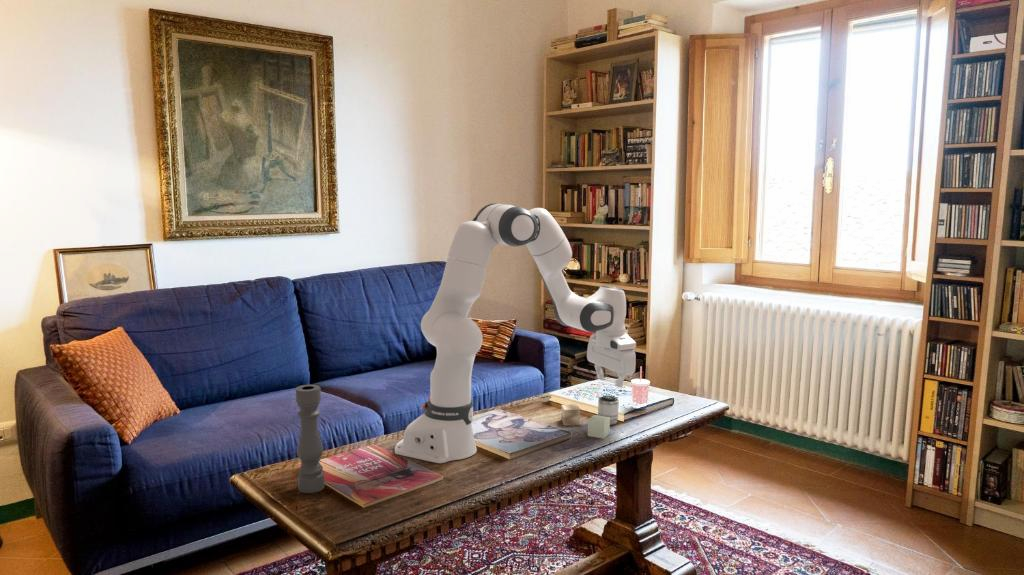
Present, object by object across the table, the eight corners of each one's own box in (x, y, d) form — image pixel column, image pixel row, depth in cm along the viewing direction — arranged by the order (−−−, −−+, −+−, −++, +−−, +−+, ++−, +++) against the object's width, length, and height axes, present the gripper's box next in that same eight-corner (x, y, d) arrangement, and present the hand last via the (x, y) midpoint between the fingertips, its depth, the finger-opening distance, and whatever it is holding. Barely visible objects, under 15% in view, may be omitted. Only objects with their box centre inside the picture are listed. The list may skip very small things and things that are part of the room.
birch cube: (563, 425, 221) (564, 409, 220) (561, 420, 225) (561, 404, 225) (579, 425, 221) (580, 409, 220) (577, 419, 226) (577, 404, 225)
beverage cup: (634, 411, 235) (635, 369, 232) (627, 405, 240) (628, 364, 238) (651, 410, 236) (653, 368, 234) (644, 404, 242) (646, 363, 240)
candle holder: (304, 481, 178) (300, 383, 174) (328, 482, 178) (325, 384, 174) (294, 492, 172) (290, 391, 168) (319, 493, 172) (315, 392, 168)
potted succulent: (611, 426, 220) (612, 401, 218) (593, 422, 224) (594, 397, 222) (621, 421, 225) (622, 397, 223) (604, 417, 228) (605, 393, 227)
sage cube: (587, 436, 212) (588, 419, 211) (593, 430, 216) (593, 414, 215) (603, 439, 210) (604, 422, 209) (609, 433, 214) (609, 417, 213)
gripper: (582, 332, 227) (581, 375, 230) (622, 346, 210) (621, 392, 212) (598, 330, 230) (597, 372, 233) (639, 344, 213) (638, 389, 215)
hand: (609, 382), depth 222 cm, fingers open, 8 cm apart
